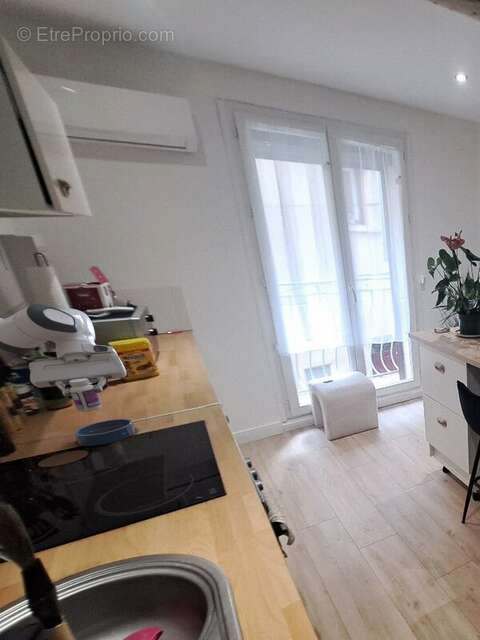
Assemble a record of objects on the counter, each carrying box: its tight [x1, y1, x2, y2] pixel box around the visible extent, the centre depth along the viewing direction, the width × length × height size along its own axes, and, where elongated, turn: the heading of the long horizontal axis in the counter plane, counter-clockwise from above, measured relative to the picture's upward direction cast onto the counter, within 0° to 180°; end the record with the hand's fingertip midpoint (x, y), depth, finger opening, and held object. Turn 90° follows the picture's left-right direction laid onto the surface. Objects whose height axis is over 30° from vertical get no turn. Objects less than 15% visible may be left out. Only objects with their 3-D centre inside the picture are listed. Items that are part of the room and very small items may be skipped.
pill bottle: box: [69, 378, 102, 413], centre depth 126 cm, size 5×5×10 cm
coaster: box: [37, 449, 89, 468], centre depth 119 cm, size 10×10×1 cm
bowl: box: [74, 418, 137, 447], centre depth 132 cm, size 13×13×4 cm
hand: (83, 392), depth 125 cm, fingers closed on pill bottle, 5 cm apart
